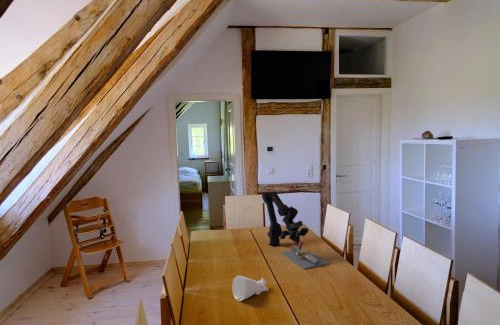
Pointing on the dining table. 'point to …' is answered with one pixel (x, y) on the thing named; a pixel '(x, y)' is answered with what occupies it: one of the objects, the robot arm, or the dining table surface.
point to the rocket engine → (247, 287)
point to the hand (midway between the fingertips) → (299, 244)
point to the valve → (305, 255)
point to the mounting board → (304, 260)
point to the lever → (299, 248)
